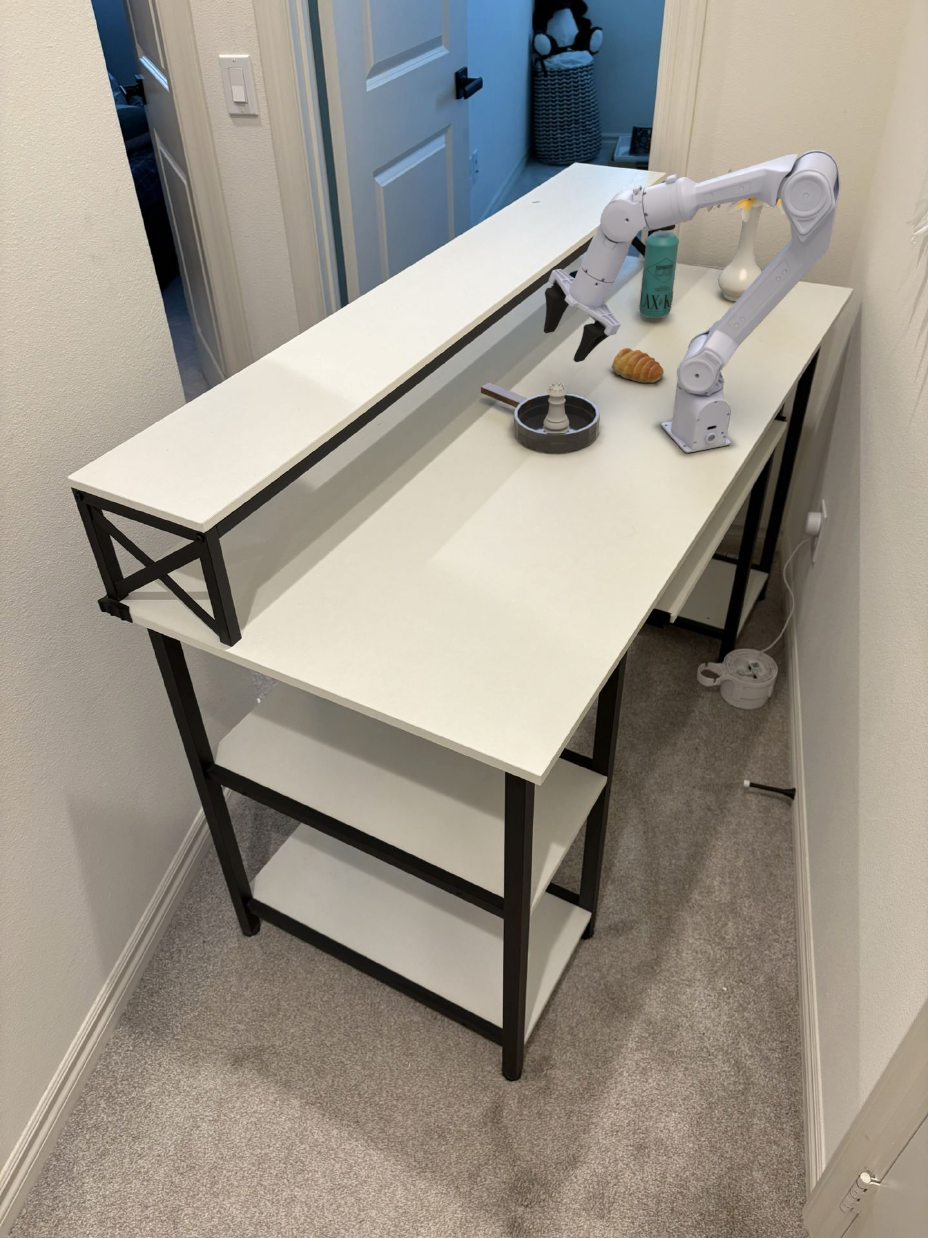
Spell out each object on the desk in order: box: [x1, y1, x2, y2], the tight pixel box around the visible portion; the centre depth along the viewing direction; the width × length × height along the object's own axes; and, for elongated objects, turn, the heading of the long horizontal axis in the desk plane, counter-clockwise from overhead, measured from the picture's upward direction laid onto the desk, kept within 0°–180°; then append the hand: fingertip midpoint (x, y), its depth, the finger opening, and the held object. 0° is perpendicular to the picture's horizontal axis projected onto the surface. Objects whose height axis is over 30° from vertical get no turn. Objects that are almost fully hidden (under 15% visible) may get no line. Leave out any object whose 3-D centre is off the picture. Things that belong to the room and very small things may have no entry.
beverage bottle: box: [638, 224, 680, 318], centre depth 174 cm, size 6×7×20 cm
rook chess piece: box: [543, 382, 570, 433], centre depth 146 cm, size 4×4×8 cm
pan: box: [513, 392, 601, 454], centre depth 148 cm, size 14×14×4 cm
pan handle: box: [480, 382, 530, 409], centre depth 153 cm, size 10×2×1 cm, turn 45°
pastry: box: [611, 347, 665, 384], centre depth 161 cm, size 9×7×4 cm
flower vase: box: [706, 168, 786, 303], centre depth 179 cm, size 13×18×25 cm
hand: (563, 345), depth 145 cm, fingers open, 7 cm apart
